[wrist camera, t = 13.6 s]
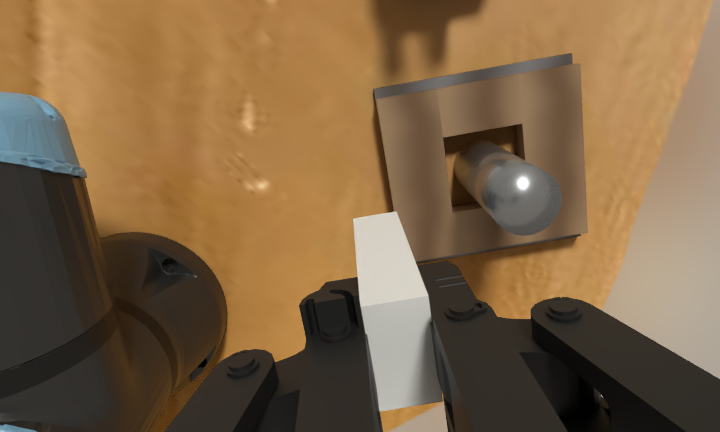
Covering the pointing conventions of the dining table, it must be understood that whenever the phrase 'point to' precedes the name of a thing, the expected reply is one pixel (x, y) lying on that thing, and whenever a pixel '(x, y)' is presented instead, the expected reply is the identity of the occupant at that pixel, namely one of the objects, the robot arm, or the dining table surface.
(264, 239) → the dining table surface
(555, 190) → the steel cylinder rod
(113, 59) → the dining table surface
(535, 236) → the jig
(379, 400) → the robot arm
